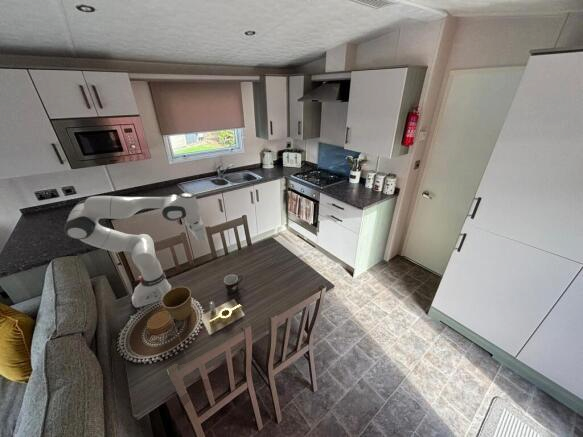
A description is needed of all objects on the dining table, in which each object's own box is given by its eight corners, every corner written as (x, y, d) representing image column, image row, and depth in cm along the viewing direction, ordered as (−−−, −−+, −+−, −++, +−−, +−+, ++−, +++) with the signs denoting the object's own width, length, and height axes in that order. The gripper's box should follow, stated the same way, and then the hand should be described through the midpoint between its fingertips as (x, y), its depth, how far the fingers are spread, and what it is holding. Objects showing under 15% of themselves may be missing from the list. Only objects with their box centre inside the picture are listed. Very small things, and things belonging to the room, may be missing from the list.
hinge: (213, 331, 129) (211, 325, 126) (208, 323, 133) (207, 317, 130) (243, 314, 138) (242, 308, 136) (238, 307, 143) (238, 301, 140)
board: (209, 336, 127) (209, 335, 127) (200, 317, 138) (200, 315, 137) (245, 316, 138) (244, 315, 138) (234, 299, 149) (233, 298, 148)
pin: (212, 315, 137) (209, 306, 133) (210, 312, 139) (207, 302, 135) (216, 313, 139) (214, 303, 135) (215, 309, 141) (212, 300, 137)
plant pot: (187, 301, 148) (182, 282, 140) (201, 314, 139) (196, 295, 131) (164, 317, 138) (156, 298, 130) (177, 332, 129) (169, 312, 121)
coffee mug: (226, 297, 151) (224, 285, 146) (225, 287, 158) (223, 276, 153) (244, 293, 153) (243, 281, 148) (243, 283, 161) (241, 272, 156)
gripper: (181, 215, 139) (187, 234, 146) (193, 230, 125) (198, 250, 132) (192, 212, 143) (197, 231, 150) (205, 226, 129) (209, 246, 135)
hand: (198, 240), depth 141 cm, fingers open, 8 cm apart
